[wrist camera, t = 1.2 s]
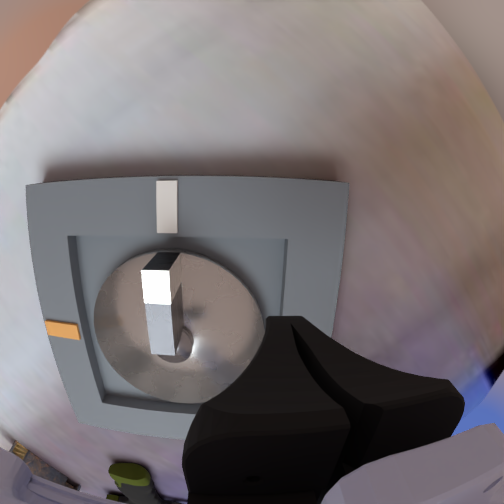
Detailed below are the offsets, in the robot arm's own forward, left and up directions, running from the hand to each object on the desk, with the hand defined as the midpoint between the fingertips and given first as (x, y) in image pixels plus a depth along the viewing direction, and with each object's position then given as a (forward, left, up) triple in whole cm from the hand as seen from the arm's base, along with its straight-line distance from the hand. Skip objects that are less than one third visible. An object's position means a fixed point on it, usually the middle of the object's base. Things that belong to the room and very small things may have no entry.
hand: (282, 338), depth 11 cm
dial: (-5, +6, -9) cm, 11 cm away
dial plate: (-5, +6, -10) cm, 12 cm away
